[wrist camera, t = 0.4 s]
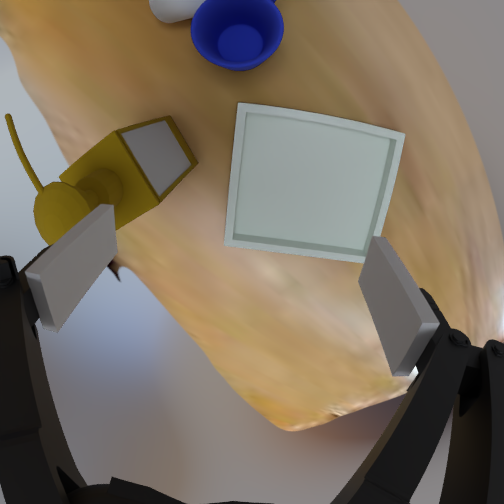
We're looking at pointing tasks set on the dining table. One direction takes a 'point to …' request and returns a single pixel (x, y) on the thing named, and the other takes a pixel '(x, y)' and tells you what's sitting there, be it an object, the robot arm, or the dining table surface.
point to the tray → (309, 182)
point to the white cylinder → (174, 9)
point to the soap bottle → (112, 176)
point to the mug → (237, 32)
